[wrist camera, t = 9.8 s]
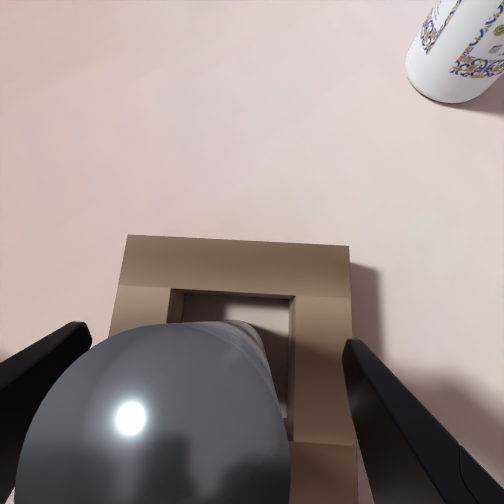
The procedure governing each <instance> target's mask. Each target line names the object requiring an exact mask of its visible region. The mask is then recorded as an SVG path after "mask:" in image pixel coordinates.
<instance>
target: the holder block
mask: <svg viewBox="0 0 504 504" xmlns="http://www.w3.org/2000/svg"><path fill="white" fill-rule="evenodd" d="M185 293H190V294H207V295H224V296H241V297H258V298H275V299H289V338H288V382H287V418H283V422H284V426H285V430H286V434H287V438H288V445H289V452H290V464H291V485H290V499H289V504H358V476H357V449H356V431H355V428H354V424H353V420H352V416H351V412H350V408H349V403H348V397H347V390H346V384H345V378H344V371H343V365H342V353H343V350H344V346H345V343H346V340H347V339H349V338H351V339H352V313H351V285H350V258H349V246H340V245H320V244H301V243H282V242H262V241H243V240H224V239H204V238H185V237H165V236H146V235H128V236H127V241H126V246H125V252H124V257H123V262H122V268H121V273H120V278H119V283H118V289H117V294H116V299H115V305H114V310H113V315H112V320H111V326H110V331H109V336H108V338H109V337H111V336H114V335H116V334H119V333H121V332H123V331H126V330H130V329H133V328H137V327H141V326H148V325H155V324H171V323H182V315H183V307H184V298H185Z"/></svg>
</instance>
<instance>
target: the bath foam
mask: <svg viewBox="0 0 504 504" xmlns="http://www.w3.org/2000/svg"><path fill="white" fill-rule="evenodd" d="M405 69H406V74H407V77H408V79H409V81H410V82H411V84H412V85H413V86H414V87H415V88H416V89H417V90H418V91H419V92H420V93H422V94H423V95H425V96H427V97H429V98H431V99H433V100H436V101H440V102H445V103H460V102H465V101H469V100H471V99H474V98H476V97H478V96H479V95H481V94H482V93H483V92H484V91H486V90H487V89H488V88H489V87H490V86H491V85H492V84H493V83H494V82H495V81H496V80H497V79H498V78H499V77H500V76H501V75H502V74H503V73H504V0H437V1H436V3H435V5H434V6H433V8H432V10H431V12H430V14H429V15H428V17H427V19H426V21H425V22H424V24H423V26H422V28H421V30H420V32H419V33H418V35H417V37H416V39H415V40H414V42H413V44H412V46H411V48H410V50H409V52H408V54H407V57H406V61H405Z"/></svg>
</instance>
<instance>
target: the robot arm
mask: <svg viewBox="0 0 504 504" xmlns="http://www.w3.org/2000/svg"><path fill="white" fill-rule="evenodd" d="M91 344H92V336H91V334H90V332H89V329H88V327H87V325H86V323H84V322H76V321H74V322H70V323H68V324H66V325H65V326H63V327H61V328H60V329H58V330H56V331H54V332H53V333H51V334H49V335H48V336H46V337H44V338H42V339H41V340H39V341H37V342H35V343H34V344H32V345H30V346H29V347H27V348H25V349H23V350H22V351H20V352H18V353H17V354H15V355H13V356H11V357H10V358H8V359H6V360H4V361H3V362H1V363H0V504H5V502H6V501H7V499H8V497H9V496H10V494H11V492H12V490H13V489H14V487H15V481H16V474H17V468H18V463H19V458H20V454H21V450H22V447H23V444H24V440H25V437H26V434H27V432H28V430H29V427H30V425H31V422H32V420H33V418H34V416H35V414H36V412H37V410H38V408H39V406H40V405H41V403H42V401H43V399H44V398H45V396H46V395H47V393H48V392H49V390H50V389H51V388H52V386H53V385H54V383H55V382H56V381H57V380H58V379H59V377H60V376H61V375H62V374H63V373H64V372H65V370H66V369H67V368H68V367H69V366H70V365H72V364H73V363H74V362H75V361H76V360H77V359H78V358H79V357H80V356H81V355H83V354H84V353H86V352H87V351H88V350H89V349H90V347H91ZM342 365H343V371H344V378H345V384H346V390H347V397H348V403H349V408H350V412H351V416H352V420H353V424H354V428H355V431H356V435H357V439H358V443H359V446H360V450H361V454H362V458H363V461H364V465H365V469H366V472H367V476H368V480H369V484H370V487H371V491H372V495H373V499H374V502H375V504H504V488H503V487H502V486H500V485H499V484H498V483H497V482H496V481H495V480H494V479H493V477H492V476H491V475H490V474H489V473H488V472H487V471H486V470H485V469H484V468H483V467H482V466H481V465H480V464H479V463H478V462H477V461H476V460H475V459H474V458H473V457H472V456H471V455H470V454H469V453H468V452H467V451H466V450H465V449H464V448H463V447H462V446H461V445H459V444H458V441H457V440H456V439H455V438H454V437H453V436H452V435H451V434H450V433H449V432H448V431H447V430H446V429H445V428H444V427H443V426H442V425H441V424H440V422H439V421H438V420H437V419H436V418H435V417H434V416H433V415H432V414H431V413H430V412H429V411H428V410H427V409H426V408H425V407H424V406H423V405H422V404H421V402H420V401H419V400H418V399H417V398H416V397H415V396H414V395H413V394H412V393H411V392H410V391H409V390H408V389H407V388H406V387H405V386H404V385H403V384H402V383H401V381H400V380H399V379H398V378H397V377H396V376H395V375H394V374H393V373H392V372H391V371H390V370H389V369H388V368H387V367H386V366H385V365H384V364H383V363H382V361H381V360H380V359H379V358H378V357H377V356H376V355H375V354H374V353H373V352H372V351H371V350H370V349H369V348H368V347H367V346H366V345H365V344H364V343H363V342H362V341H361V340H360V339H351V338H349V339H347V340H346V343H345V346H344V350H343V353H342Z"/></svg>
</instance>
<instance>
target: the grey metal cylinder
mask: <svg viewBox="0 0 504 504" xmlns="http://www.w3.org/2000/svg"><path fill="white" fill-rule="evenodd" d="M290 485H291V464H290V452H289V445H288V438H287V434H286V430H285V426H284V422H283V418H282V414H281V410H280V407H279V403H278V399H277V395H276V391H275V387H274V383H273V380H272V376H271V372H270V368H269V364H268V360H267V356H266V352H265V349H264V345H263V341H262V339H261V337H260V335H259V334H258V332H257V331H256V330H255V329H254V328H253V327H252V326H251V325H249V324H247V323H245V322H242V321H238V320H225V321H207V322H189V323H171V324H155V325H148V326H141V327H137V328H133V329H130V330H126V331H123V332H121V333H119V334H116V335H114V336H111V337H109V338H107V339H106V340H104V341H102V342H100V343H99V344H97V345H95V346H94V347H92V348H91V349H90V350H88V351H87V352H86V353H84V354H83V355H81V356H80V357H79V358H78V359H77V360H76V361H75V362H74V363H73V364H72V365H70V366H69V367H68V368H67V369H66V370H65V372H64V373H63V374H62V375H61V376H60V377H59V379H58V380H57V381H56V382H55V383H54V385H53V386H52V388H51V389H50V390H49V392H48V393H47V395H46V396H45V398H44V399H43V401H42V403H41V405H40V406H39V408H38V410H37V412H36V414H35V416H34V418H33V420H32V422H31V425H30V427H29V430H28V432H27V434H26V437H25V440H24V444H23V447H22V450H21V454H20V458H19V463H18V468H17V474H16V481H15V494H14V504H289V499H290Z"/></svg>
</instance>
